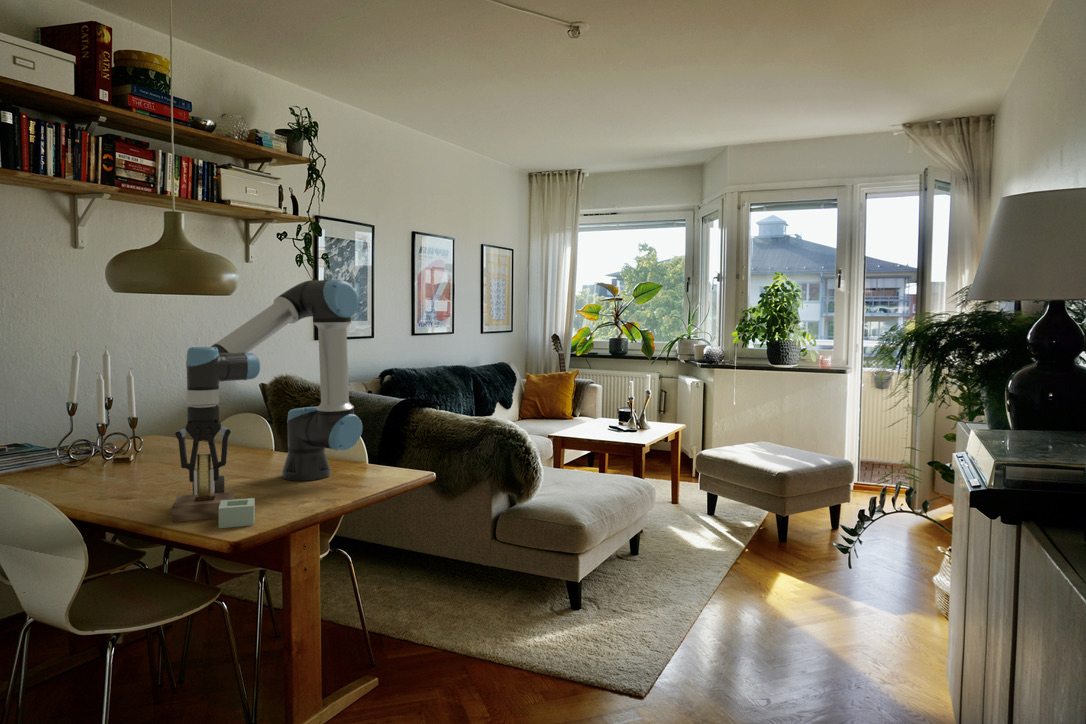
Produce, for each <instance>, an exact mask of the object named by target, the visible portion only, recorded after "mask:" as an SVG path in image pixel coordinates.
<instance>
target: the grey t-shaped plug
mask: <svg viewBox="0 0 1086 724" xmlns="http://www.w3.org/2000/svg"><path fill="white" fill-rule="evenodd" d="M214 488H215V491H214V493H226V491H225V490H226V489H225V474H219V478H218V480H216V481H214ZM192 495H194V482H192Z"/></svg>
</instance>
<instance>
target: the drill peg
mask: <svg viewBox="0 0 1086 724" xmlns="http://www.w3.org/2000/svg"><path fill="white" fill-rule="evenodd" d="M196 464H197V465H196V467H197V472H198V501H211V494H210V469H211V468H212V458H211V453H210V452H203V453H202V452H201V453H197V458H196Z"/></svg>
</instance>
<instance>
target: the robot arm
mask: <svg viewBox="0 0 1086 724" xmlns="http://www.w3.org/2000/svg"><path fill="white" fill-rule="evenodd" d="M272 303H273V304H270V306H268V307H267V308H265V309H264V310H262V311H261V312H259V313H258V314H257V315H255V316H253V317H251V319H249V320H247V321H246V322H245V323H243V324H241V325H240V326H238V327H237V328H236V329H235V330H233V331H231V332H230V333H228V334H227V335H225V336H224V337H222V338H221V339H220V340H218V341H217V342H215V343H214V344H212V345H211V346H193V347H192V346H190V347H189V348H188V349H187V352H186V362H185V367H186V387H187V388H186V400H187V402H186V404H187V405H188V407H187V408H186V409H187V410H186V411H187V414H186V416H187V423H186V425H185V427H184V428H182V429H178V430H176V431H175V434H174V436H175V437H176V439H177V440H178V449H179V458H180V459H179V460H180V467H181V469H187V470H188V476H189V478H188V479H189V483H193V482H194V495H198V472H197V468H196V464H197V454H198V452H199V446H200V442H201V441H205V442H207V443H208V447H209V453H210V454H211V465H212V467H211V469H210V494H214V491H215V488H214V481H216V480H218V478H219V475H220V468H221V467H225V466H226V464H227V457H228V446H229V437H230V434H231V433H232V428H230V427H224V426H222V424H221V422H220V407H219V405H218V404H219V403H220V389H219V388H220V382H232V381H233V382H234V381H247V380H253V379H255V378H257V377H258V376H259V374H260V372H261V361H260V359H259V357H258V356H257V355H256V354H255V353H254V352H253V353H252V352H251V351H252V350H253V349H256V347H257V346H259V345H261V344H262V343H263V342H265V341H266V340H268V339H269V338H271V336H273V335H274V334H276V333H277V332H279V331H281V330H282V329H283V328H285V327H286V326H287V325H288V324H291V325H292V324H295V323H297V322H298V321H300V320H302V319H304V318H309V317H310V318H311V317H312V324H313V325H315V327H316V328H317V329H318V330H317V331H318V332H317V333H318V353H319V356H318V357H319V358H318V359H319V380H320V381H319V382H320V386H319V388H320V403H319V405H318V406H307V407H297V408H292V409H290V410H289V411H288V413H287V419H286V423H287V428H286V429H287V455H286V458H285V462H284V465H283V467H282V472H281V473H282V474H281V475H282V479H284V480H286V481H296V482H299V481H301V482H302V481H315V480H321V479H325V478H328V477H330V476H331V467H330V463H329V461H328V457H327V454H326V450H325V449H331V450H333V451H348V450H349V449H352V448H354V446H356V445H357V442H358V441H359V440H360V438H361V436H362V433H363V423H362V420H361V419H360V417H359V416H357V415H356V414H355V406H354V405H353V404H352V403H351V402H350V398H349V397H350V393H349V392H350V389H349V367H348V366H349V365H348V364H349V363H348V337H347V335H348V333H347V329H348V326H350V325H351V323H352V317H353V316H354V315H355V314H356V312H357V310H358V308H359V296H358V294H357V292H356V290H355V288H354V287H353V286H352V284H350V283H349V282H347V281H345V280H341V279H335V278H334V279H321V280H318V279H317V280H316V279H315V280H306V281H303V282H300V283H298V284H296V285H295V286H292V287H291V288H289V289H287V290H286V291H284V292H283V293H281V294H280V295H278V296H277V297H275V298H274V299H273V302H272ZM219 431H220V433H221V436H222V440H221V441H222V442H221V443H222V444H221V453H220V454H221V455H220V461H219V457H218V453H217V448H216V443H215V437H216V436H217V435H218V433H219ZM187 434H188V435H189V436H190V437H191V438H192V439H193V441H192V448H191V452H190V453H191V454H190V460H189V462H188V457H187V456H188V455H187V447H186V439H185V437H186V436H187Z"/></svg>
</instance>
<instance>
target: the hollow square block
mask: <svg viewBox="0 0 1086 724" xmlns="http://www.w3.org/2000/svg"><path fill="white" fill-rule="evenodd" d="M255 500H256V499H255V497H249V498H237V499H236V498H235V499H233V500H221V502H220V505H219V518H218V529H223V528H224V529H225V528H227V529H228V528H240V527H250V526H254V525H255V520H256V519H255V517H256V515H255V514H256V508H255V507H256V506H255V504H256V502H255Z"/></svg>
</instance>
